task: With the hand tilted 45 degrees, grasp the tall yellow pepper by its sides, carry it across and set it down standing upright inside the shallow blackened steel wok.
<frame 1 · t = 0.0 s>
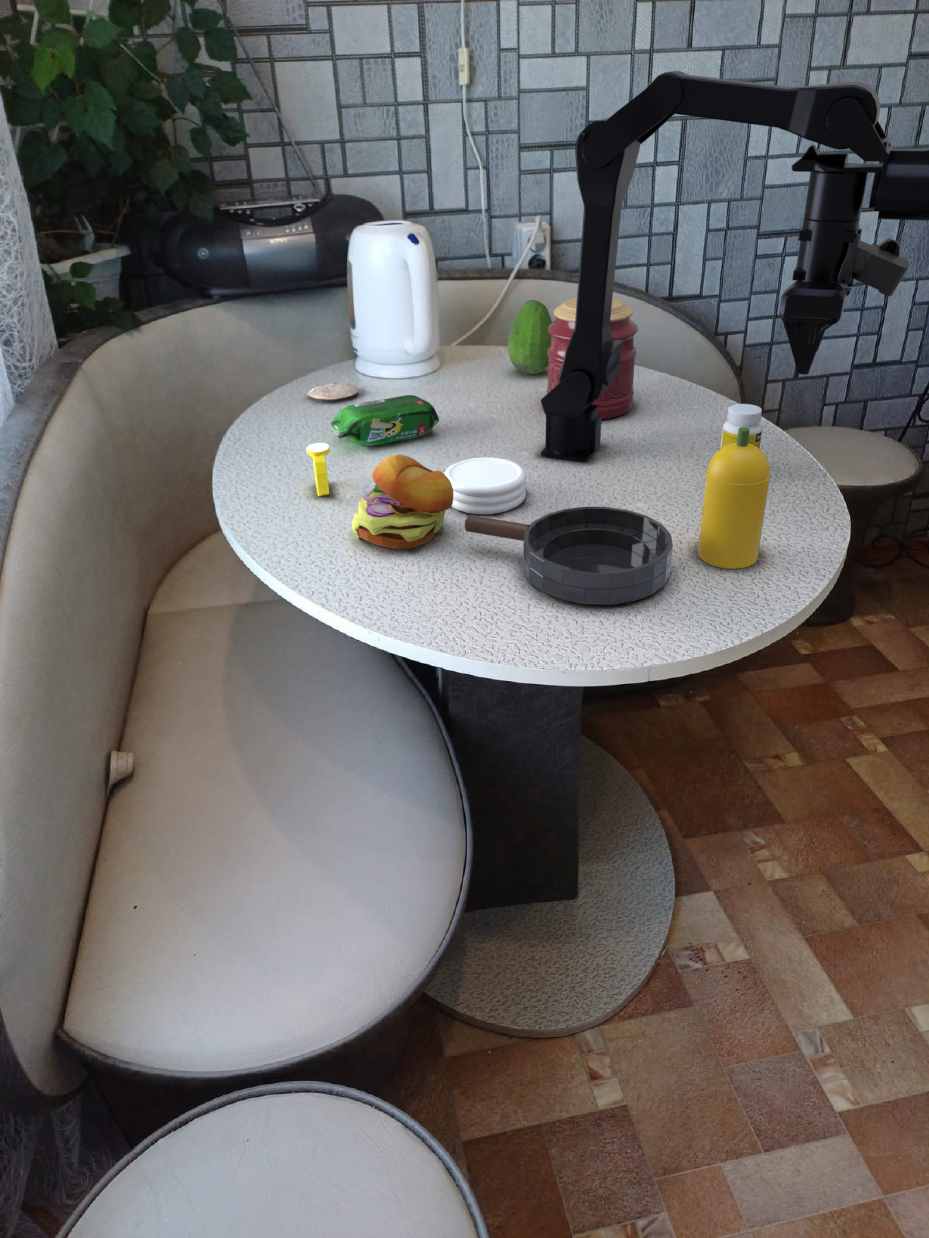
hand: (807, 362, 108), 15 cm above the table, tool pointing down, fingers open, 9 cm apart
flatbread: (333, 396, 149), on the table
supplement bottle: (736, 474, 118), on the table
kitchen canister: (589, 408, 141), on the table
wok: (595, 571, 98), on the table
pepper: (727, 555, 100), on the table
cheeseburger: (404, 535, 107), on the table
avocado: (532, 374, 156), on the table
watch: (323, 492, 117), on the table
snack package: (386, 440, 132), on the table
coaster: (485, 499, 114), on the table
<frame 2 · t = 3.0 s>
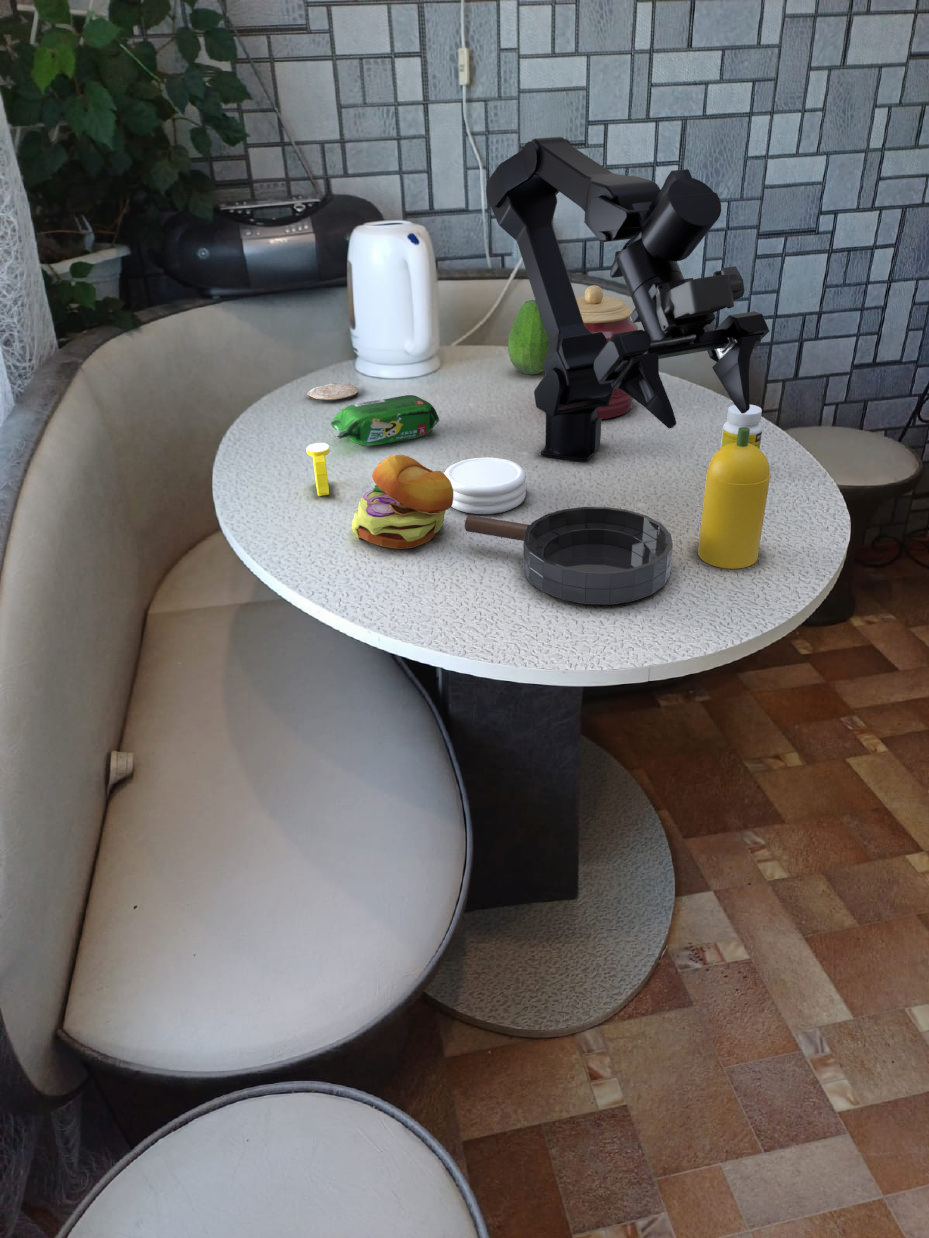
hand: (710, 419, 97), 13 cm above the table, tool tilted 45°, fingers open, 9 cm apart
nothing on the table moved.
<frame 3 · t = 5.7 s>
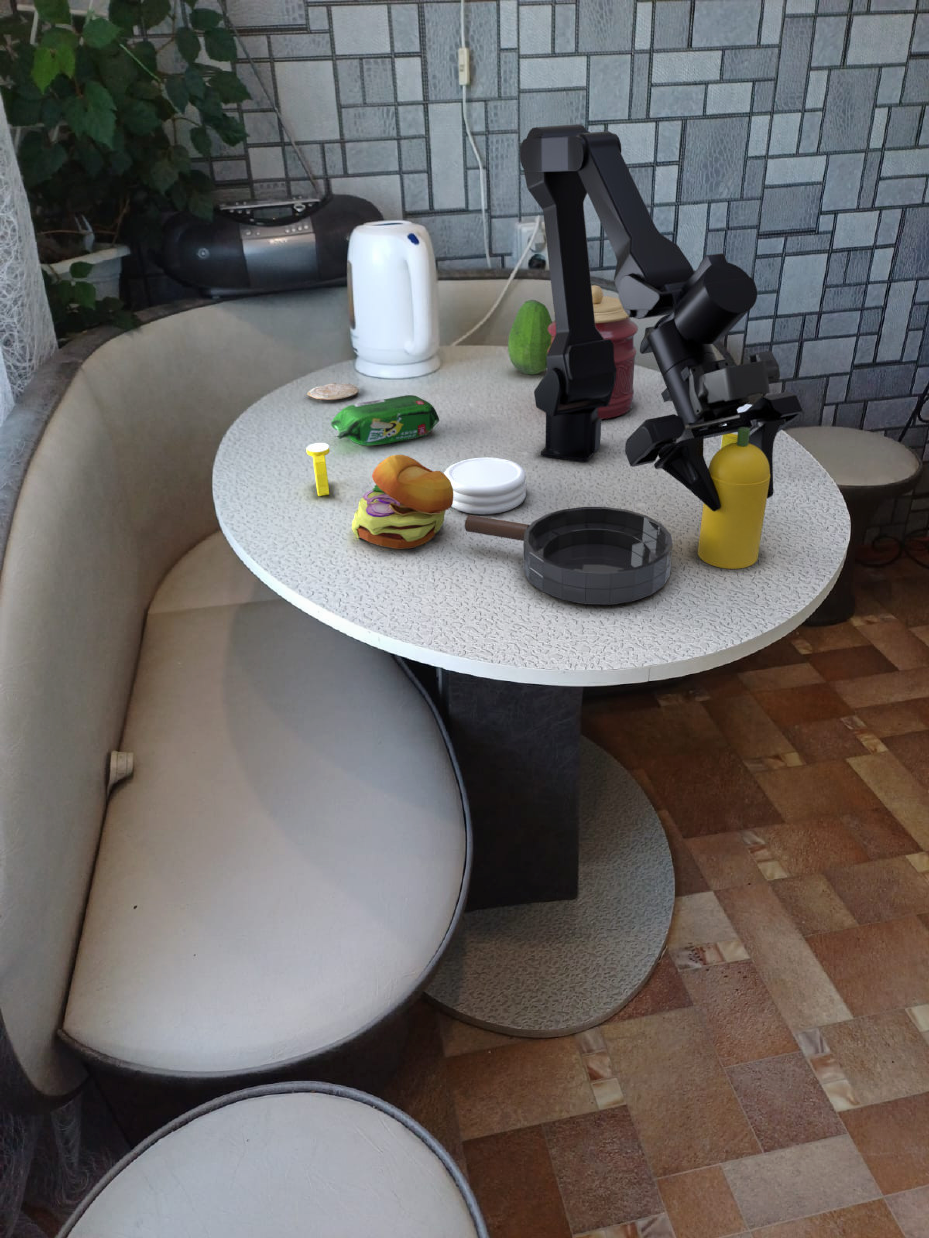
hand: (743, 503, 95), 7 cm above the table, tool tilted 45°, fingers closed on pepper, 6 cm apart
pepper: (727, 555, 100), on the table, touching gripper
everything else where it was.
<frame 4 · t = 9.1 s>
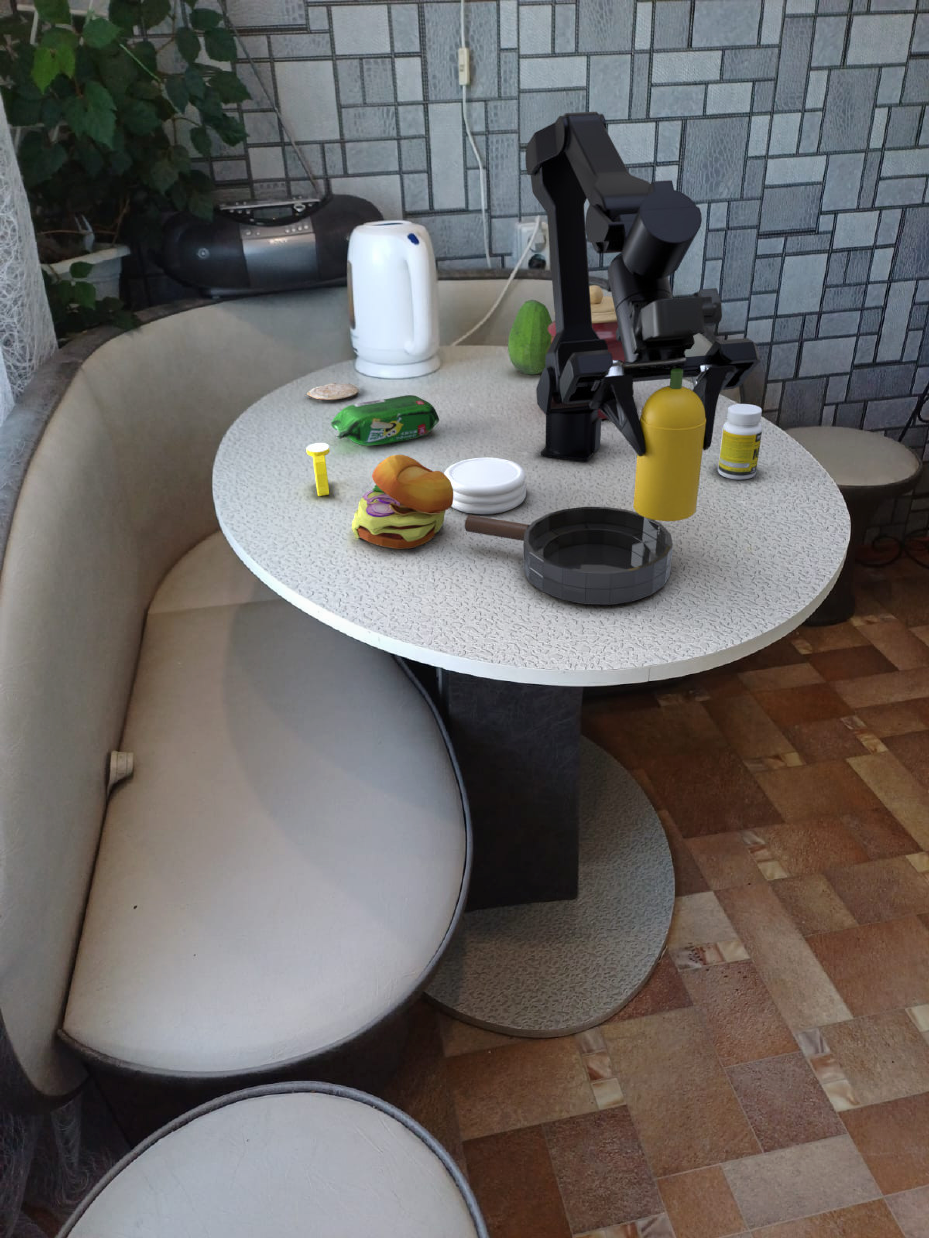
hand: (674, 451, 90), 13 cm above the table, tool tilted 45°, fingers closed on pepper, 6 cm apart
pepper: (664, 508, 94), point 7 cm above the table, touching gripper
everything else where it was.
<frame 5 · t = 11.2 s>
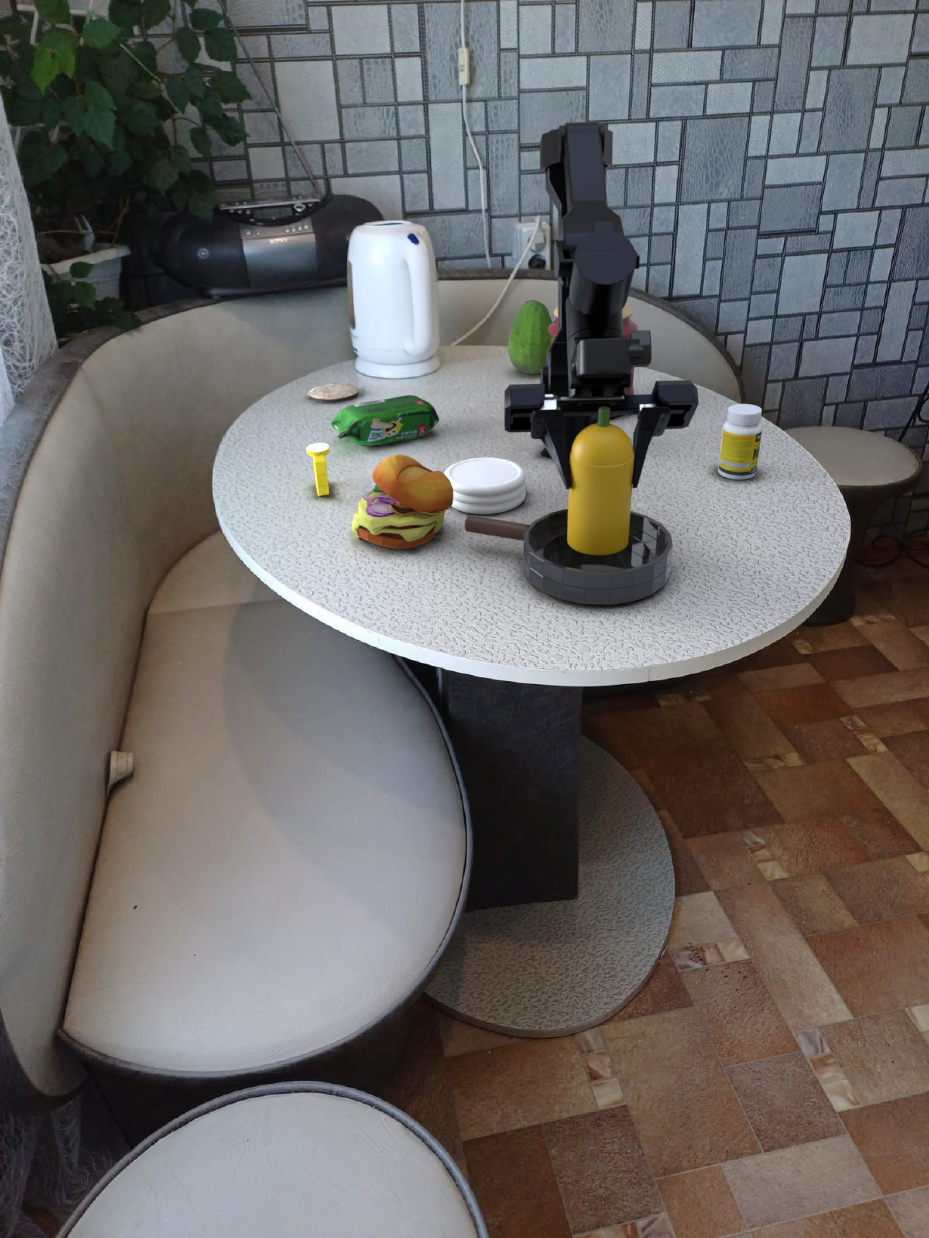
hand: (601, 487, 91), 10 cm above the table, tool tilted 45°, fingers closed on pepper, 6 cm apart
pepper: (597, 541, 96), point 4 cm above the table, touching gripper
everything else where it was.
when the fingers open (7 cm above the table, at t = 12.7 s): pepper stays where it is, resting on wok.
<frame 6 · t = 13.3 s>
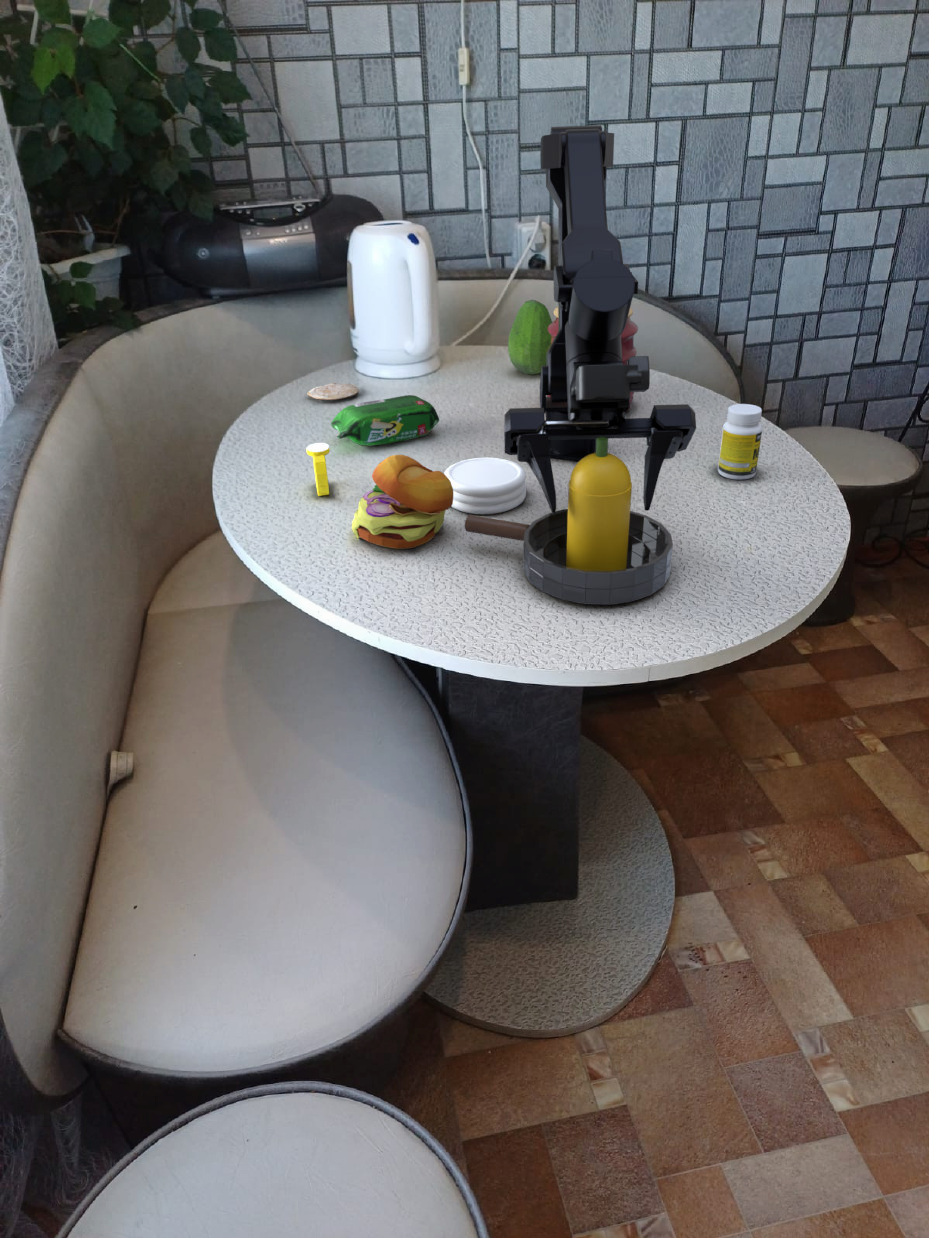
hand: (600, 510, 92), 8 cm above the table, tool tilted 45°, fingers open, 9 cm apart
pepper: (596, 567, 97), resting on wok
everything else where it was.
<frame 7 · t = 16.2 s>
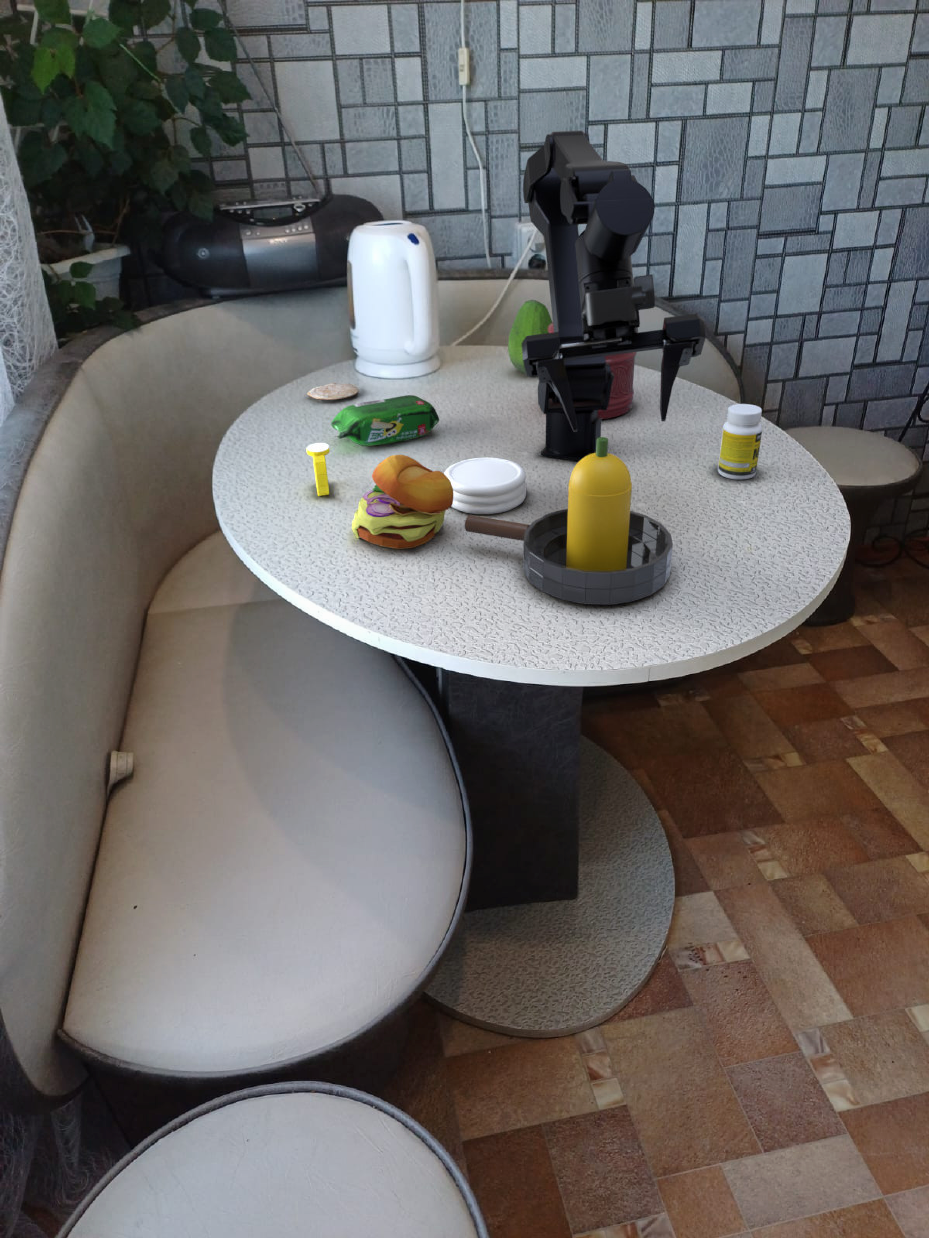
hand: (619, 425, 98), 13 cm above the table, tool tilted 35°, fingers open, 9 cm apart
nothing on the table moved.
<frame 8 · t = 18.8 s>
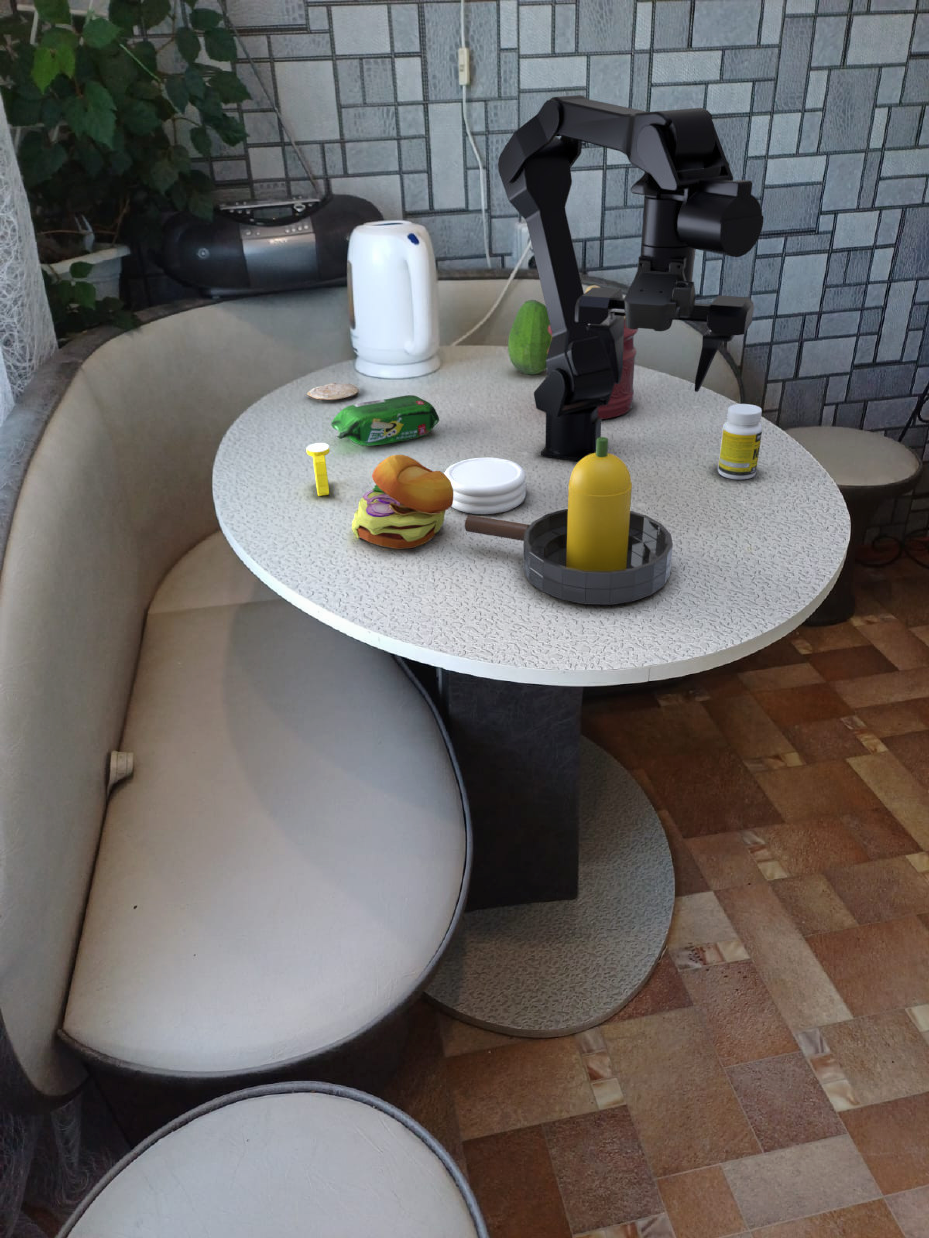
hand: (656, 386, 108), 13 cm above the table, tool pointing down, fingers open, 9 cm apart
nothing on the table moved.
at the end: pepper 0.0 cm off-centre in the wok, point 0.5 cm above the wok's base; pepper tilted 0°; the gripper is holding nothing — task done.
